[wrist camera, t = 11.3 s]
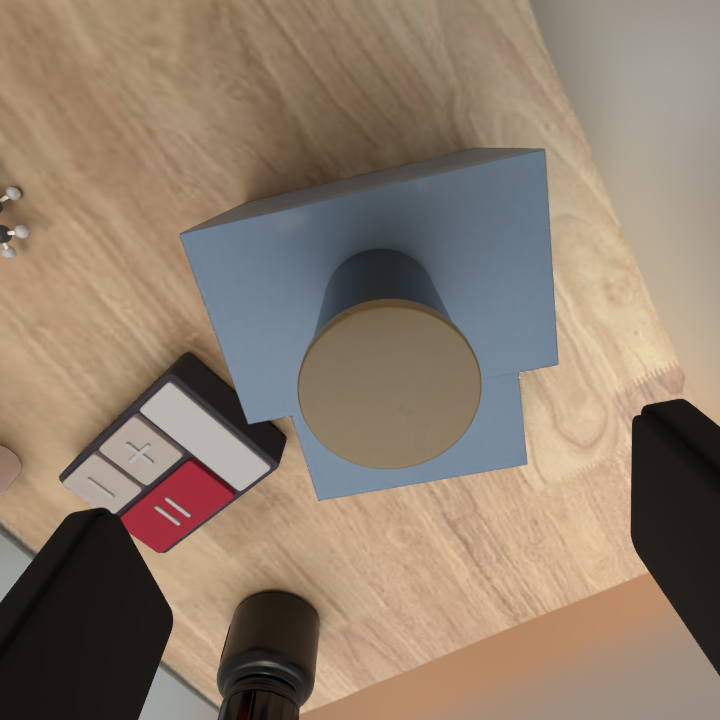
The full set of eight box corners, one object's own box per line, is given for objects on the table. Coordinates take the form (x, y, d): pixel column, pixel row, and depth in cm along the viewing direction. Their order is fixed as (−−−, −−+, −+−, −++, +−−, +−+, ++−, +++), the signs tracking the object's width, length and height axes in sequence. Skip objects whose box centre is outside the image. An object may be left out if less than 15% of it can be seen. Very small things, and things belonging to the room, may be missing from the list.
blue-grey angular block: (244, 202, 33) (178, 234, 21) (477, 147, 32) (545, 148, 20) (323, 462, 42) (307, 587, 30) (509, 428, 40) (570, 546, 28)
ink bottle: (213, 622, 50) (171, 756, 39) (262, 574, 47) (232, 703, 36) (289, 662, 52) (269, 799, 41) (340, 619, 50) (333, 753, 39)
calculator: (49, 485, 38) (165, 375, 34) (80, 452, 42) (187, 350, 37) (159, 562, 42) (279, 472, 37) (178, 525, 46) (289, 439, 41)
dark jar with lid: (307, 259, 22) (274, 327, 14) (428, 232, 21) (469, 286, 13) (336, 368, 24) (322, 483, 16) (446, 346, 23) (491, 453, 15)
